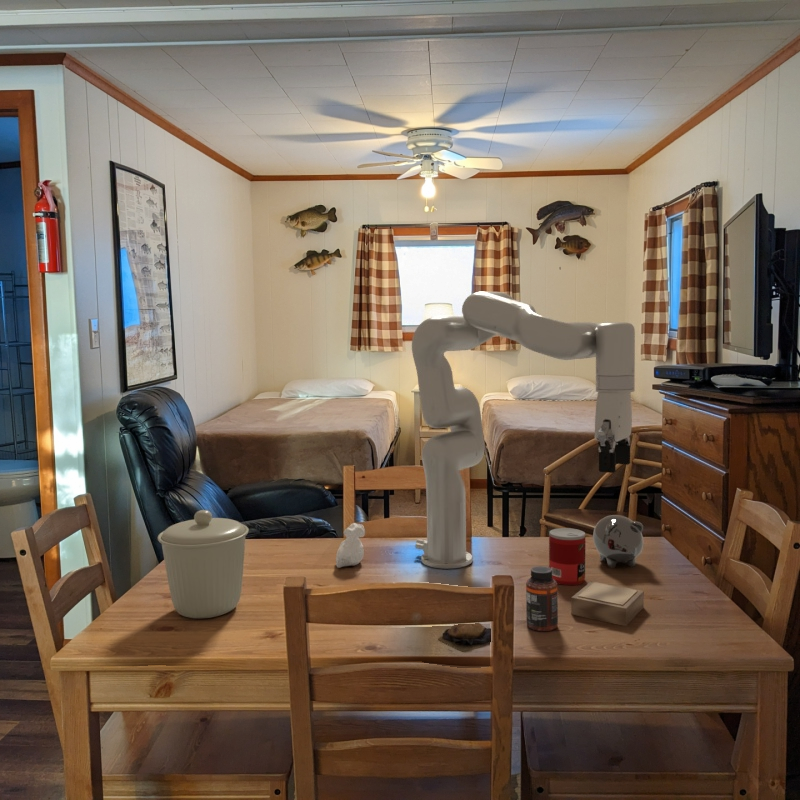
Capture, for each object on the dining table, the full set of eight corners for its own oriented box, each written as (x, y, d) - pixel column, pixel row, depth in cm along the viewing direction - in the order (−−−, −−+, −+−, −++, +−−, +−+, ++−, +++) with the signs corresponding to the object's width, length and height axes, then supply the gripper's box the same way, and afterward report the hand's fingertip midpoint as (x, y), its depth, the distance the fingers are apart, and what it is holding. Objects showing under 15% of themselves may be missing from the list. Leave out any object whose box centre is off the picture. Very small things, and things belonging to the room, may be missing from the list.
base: (571, 614, 149) (571, 596, 148) (591, 597, 158) (591, 580, 157) (626, 626, 143) (626, 607, 142) (643, 607, 151) (643, 590, 151)
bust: (344, 580, 177) (371, 545, 175) (319, 560, 178) (346, 525, 176) (358, 564, 189) (383, 531, 186) (335, 545, 190) (360, 512, 187)
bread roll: (465, 656, 132) (464, 636, 132) (433, 641, 139) (433, 622, 138) (506, 640, 139) (506, 621, 138) (475, 626, 145) (474, 607, 145)
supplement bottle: (557, 621, 146) (557, 564, 145) (558, 633, 140) (558, 575, 139) (526, 619, 147) (526, 563, 146) (526, 631, 141) (526, 573, 140)
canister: (219, 632, 144) (214, 525, 141) (142, 620, 150) (137, 518, 148) (267, 599, 160) (263, 503, 158) (196, 590, 167) (192, 497, 164)
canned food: (585, 586, 164) (586, 537, 163) (548, 584, 166) (549, 536, 165) (584, 575, 172) (584, 528, 171) (549, 573, 173) (549, 527, 172)
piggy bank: (607, 575, 171) (608, 526, 170) (584, 555, 186) (584, 510, 185) (654, 572, 172) (655, 524, 171) (627, 553, 187) (628, 508, 186)
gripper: (610, 380, 159) (610, 459, 161) (582, 387, 145) (582, 473, 147) (645, 381, 155) (645, 462, 157) (620, 388, 141) (620, 477, 142)
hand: (614, 467), depth 152 cm, fingers open, 9 cm apart
